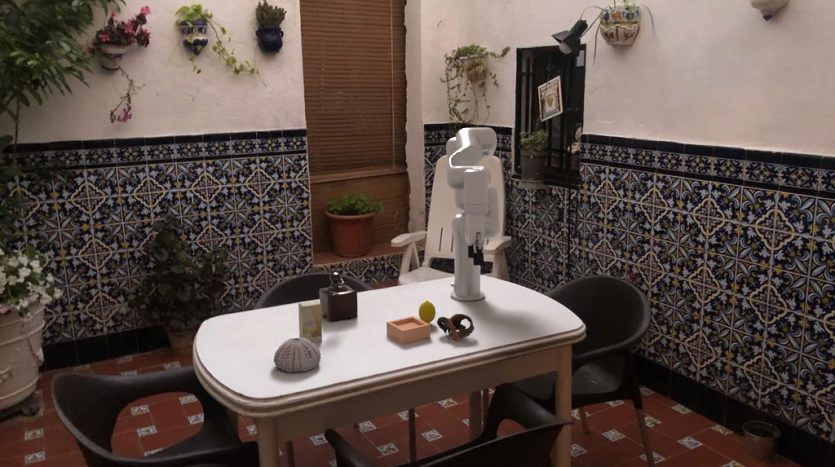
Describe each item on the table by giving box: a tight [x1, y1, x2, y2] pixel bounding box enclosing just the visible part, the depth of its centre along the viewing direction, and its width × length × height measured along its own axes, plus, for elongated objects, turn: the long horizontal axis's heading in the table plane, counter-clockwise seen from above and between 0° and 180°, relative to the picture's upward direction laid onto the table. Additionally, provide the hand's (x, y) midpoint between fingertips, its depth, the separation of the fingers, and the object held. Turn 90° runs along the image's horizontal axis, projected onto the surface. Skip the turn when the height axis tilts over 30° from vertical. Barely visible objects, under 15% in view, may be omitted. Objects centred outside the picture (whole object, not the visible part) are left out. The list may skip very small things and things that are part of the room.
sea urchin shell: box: [273, 337, 322, 373], centre depth 193 cm, size 13×14×8 cm
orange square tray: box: [386, 315, 431, 345], centre depth 214 cm, size 10×10×4 cm
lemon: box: [418, 300, 437, 324], centre depth 225 cm, size 6×6×8 cm
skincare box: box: [297, 300, 323, 343], centre depth 211 cm, size 6×4×12 cm
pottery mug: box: [436, 313, 475, 342], centre depth 213 cm, size 12×10×8 cm
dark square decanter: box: [318, 269, 359, 323], centre depth 231 cm, size 16×11×18 cm
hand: (475, 261), depth 217 cm, fingers open, 9 cm apart
